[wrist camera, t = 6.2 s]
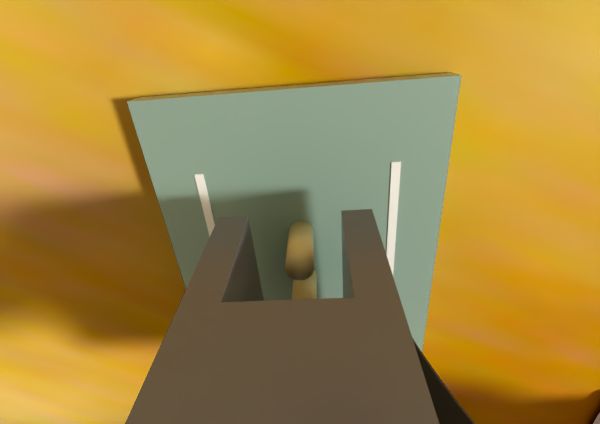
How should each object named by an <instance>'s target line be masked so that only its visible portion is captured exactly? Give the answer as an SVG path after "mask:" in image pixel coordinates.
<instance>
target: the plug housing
mask: <svg viewBox="0 0 600 424" xmlns="http://www.w3.org/2000/svg"><path fill="white" fill-rule="evenodd" d="M341 226H342V276H343V298H324V299H298V300H271V301H264V298H263V292H262V287H261V282H260V277H259V271H258V266H257V261H256V255H255V250H254V245H253V240H252V234H251V229H250V224H249V218H248V216H233V217H219V218H218V220H217V222H216V224H215V227H214V229H213V231H212V233H211V236H210V238H209V240H208V242H207V244H206V247H205V249H204V251H203V253H202V255H201V258H200V260H199V262H198V264H197V266H196V269H195V271H194V273H193V275H192V277H191V280H190V282H189V284H188V286H187V288H186V291H185V293H184V295H183V297H182V299H181V302H180V304H179V306H178V308H177V311H176V313H175V315H174V317H173V319H172V322H171V324H170V326H169V328H168V330H167V333H166V335H165V337H164V339H163V341H162V344H161V346H160V348H159V350H158V352H157V355H156V357H155V359H154V361H153V363H152V366H151V368H150V370H149V372H148V374H147V377H146V379H145V381H144V383H143V386H142V388H141V390H140V392H139V394H138V397H137V399H136V401H135V403H134V405H133V408H132V410H131V412H130V414H129V416H128V419H127V421H126V423H125V424H439V421H438V418H437V415H436V412H435V408H434V405H433V402H432V399H431V396H430V393H429V389H428V386H427V383H426V380H425V377H424V373H423V370H422V367H421V364H420V361H419V357H418V354H417V351H416V348H415V345H414V342H413V338H412V335H411V332H410V329H409V326H408V322H407V319H406V316H405V313H404V310H403V306H402V303H401V300H400V297H399V294H398V291H397V287H396V284H395V281H394V278H393V275H392V271H391V268H390V265H389V262H388V259H387V255H386V252H385V249H384V246H383V243H382V239H381V236H380V233H379V230H378V227H377V224H376V220H375V217H374V214H373V211H372V209H361V210H343V211H341Z"/></svg>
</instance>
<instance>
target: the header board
mask: <svg viewBox="0 0 600 424" xmlns="http://www.w3.org/2000/svg"><path fill="white" fill-rule="evenodd" d="M460 81H461V75H458V74H455V73H452V72H449V73H437V74H424V75H412V76H399V77H386V78H374V79H361V80H349V81H336V82H323V83H311V84H298V85H286V86H273V87H260V88H248V89H235V90H223V91H210V92H197V93H185V94H172V95H160V96H147V97H138V98H135V99H133V100H130V101H127V104H128V107H129V110H130V113H131V117H132V120H133V123H134V126H135V129H136V132H137V136H138V139H139V142H140V145H141V148H142V151H143V155H144V158H145V161H146V164H147V167H148V170H149V174H150V177H151V180H152V183H153V186H154V189H155V193H156V196H157V199H158V202H159V205H160V208H161V212H162V215H163V218H164V221H165V224H166V227H167V231H168V234H169V237H170V240H171V243H172V246H173V250H174V253H175V256H176V259H177V262H178V265H179V269H180V272H181V275H182V278H183V281H184V284H185V288H187V286H188V284H189V282H190V280H191V277H192V275H193V273H194V271H195V269H196V266H197V264H198V262H199V260H200V258H201V255H202V253H203V251H204V249H205V247H206V244H207V242H208V240H209V238H210V236H211V233H212V231H213V229H214V227H215V224H216V222H217V220H218V218H219V217H233V216H248V218H249V224H250V229H251V234H252V240H253V245H254V250H255V255H256V261H257V266H258V271H259V277H260V282H261V287H262V292H263V298H264V301H271V300H298V299H324V298H343V276H342V226H341V211H343V210H361V209H372V211H373V214H374V217H375V220H376V224H377V227H378V230H379V233H380V236H381V239H382V243H383V246H384V249H385V252H386V255H387V259H388V262H389V265H390V268H391V271H392V275H393V278H394V281H395V284H396V287H397V291H398V294H399V297H400V300H401V303H402V306H403V310H404V313H405V316H406V319H407V322H408V326H409V329H410V332H411V335H412V338H413V339H414V341H415V342H416V344H417V346H418V347H419V349H420V350H421V352H422V349H423V342H424V335H425V327H426V320H427V313H428V306H429V299H430V292H431V285H432V278H433V271H434V264H435V257H436V250H437V243H438V236H439V229H440V222H441V215H442V208H443V201H444V194H445V187H446V180H447V173H448V166H449V159H450V152H451V145H452V138H453V130H454V123H455V116H456V109H457V102H458V95H459V88H460Z"/></svg>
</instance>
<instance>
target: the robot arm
mask: <svg viewBox="0 0 600 424" xmlns="http://www.w3.org/2000/svg"><path fill="white" fill-rule="evenodd" d="M413 342H414V345H415V348H416V351H417V354H418V357H419V361H420V364H421V367H422V370H423V373H424V377H425V380H426V383H427V386H428V389H429V393H430V396H431V399H432V402H433V405H434V408H435V412H436V415H437V418H438V421H439V424H475V423H474V422H473V420H472V419H471V418H470V417H469V415H468V414H467V413H466V412H465V410H464V409H463V408H462V407H461V405H460V404H459V403H458V402H457V400H456V399H455V398H454V396H453V395H452V394H451V392H450V391H449V390H448V388H447V387H446V386H445V384H444V383H443V382H442V380H441V379H440V377H439V376H438V375H437V373H436V372H435V371H434V369H433V368H432V366H431V365H430V363H429V362H428V361H427V359H426V358H425V356H424V355H423V353H422V352H421V350H420V349H419V347H418V346H417V344H416V342H415V341H414V339H413ZM593 424H600V412H599V414H598V416H597V417H596V419H595V421H594V422H593Z"/></svg>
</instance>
